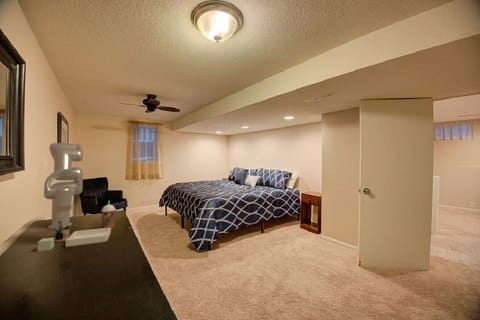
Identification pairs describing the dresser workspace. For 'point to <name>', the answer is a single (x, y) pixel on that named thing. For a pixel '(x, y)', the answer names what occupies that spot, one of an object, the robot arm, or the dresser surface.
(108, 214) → the smoothie
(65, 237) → the maple block
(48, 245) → the sage block
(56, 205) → the robot arm
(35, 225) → the dresser surface
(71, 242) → the tray
